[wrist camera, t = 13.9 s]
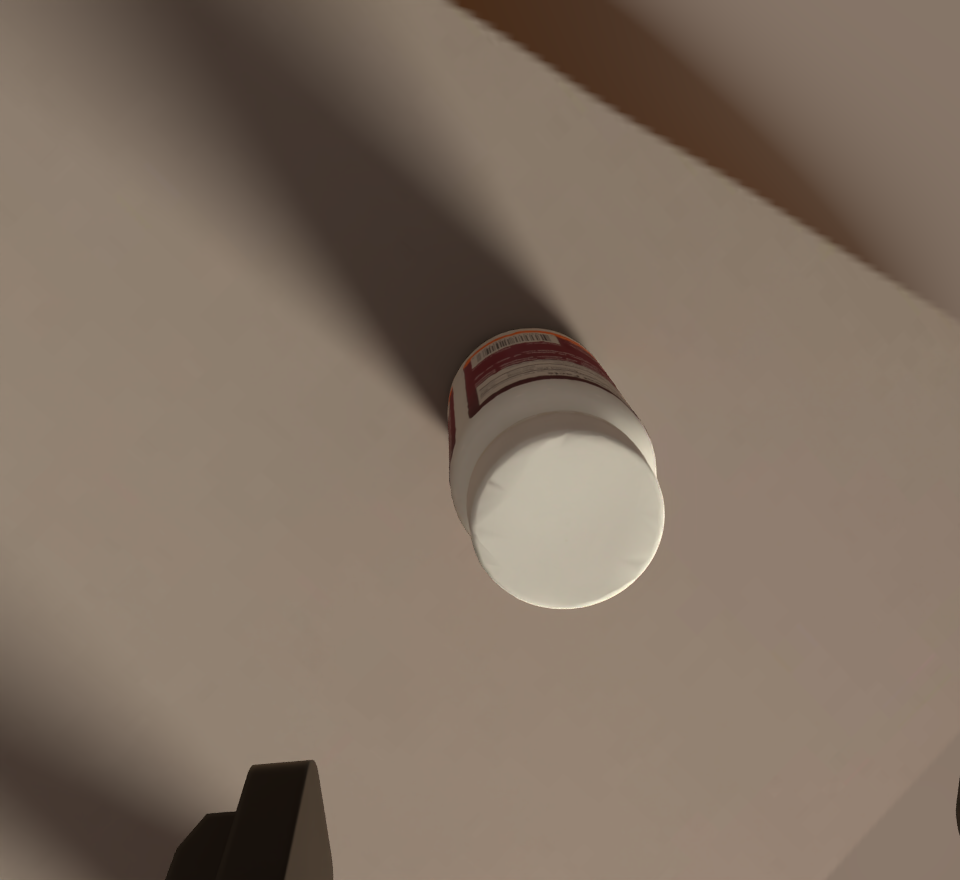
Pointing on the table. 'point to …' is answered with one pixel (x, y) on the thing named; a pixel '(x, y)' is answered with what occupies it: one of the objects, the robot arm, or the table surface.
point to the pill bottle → (551, 471)
